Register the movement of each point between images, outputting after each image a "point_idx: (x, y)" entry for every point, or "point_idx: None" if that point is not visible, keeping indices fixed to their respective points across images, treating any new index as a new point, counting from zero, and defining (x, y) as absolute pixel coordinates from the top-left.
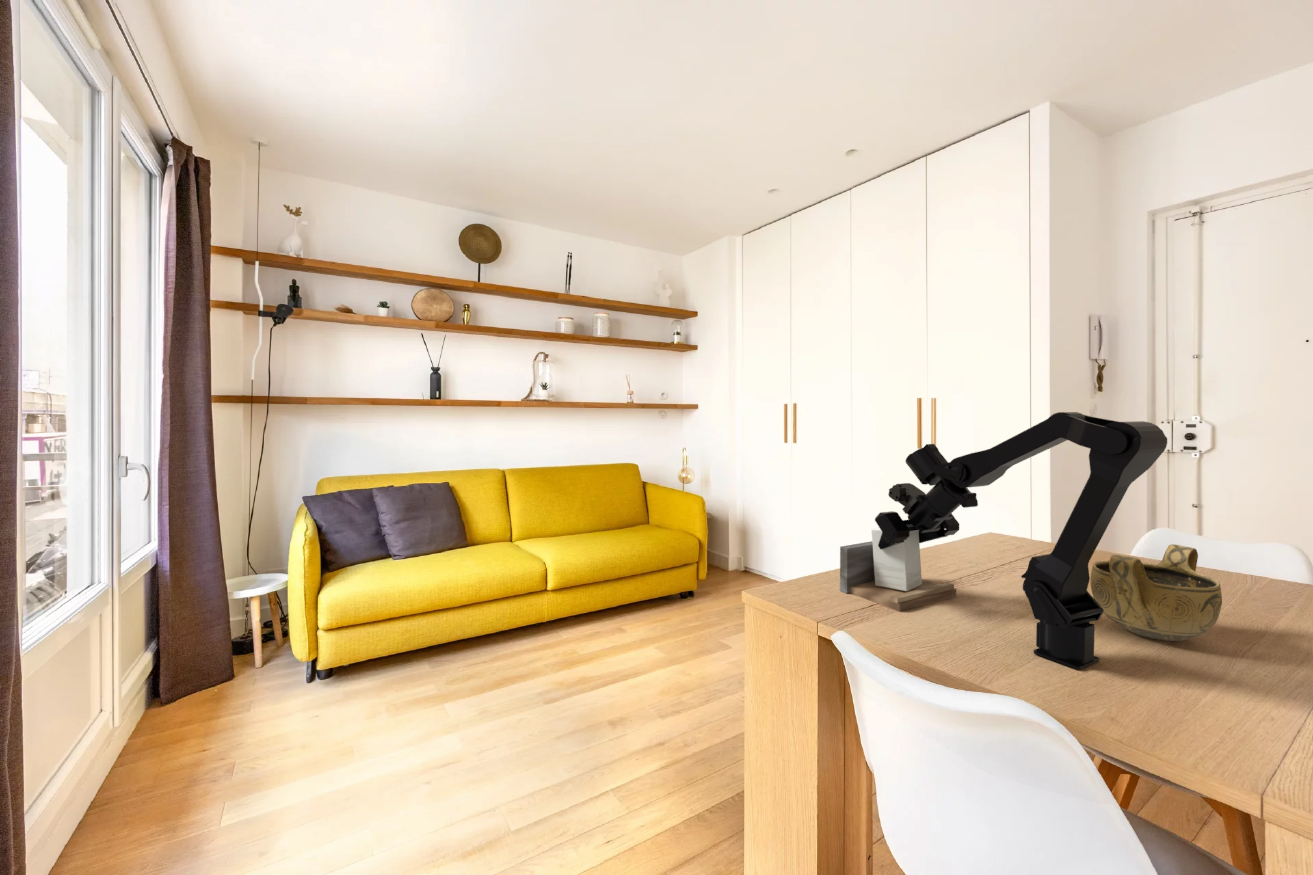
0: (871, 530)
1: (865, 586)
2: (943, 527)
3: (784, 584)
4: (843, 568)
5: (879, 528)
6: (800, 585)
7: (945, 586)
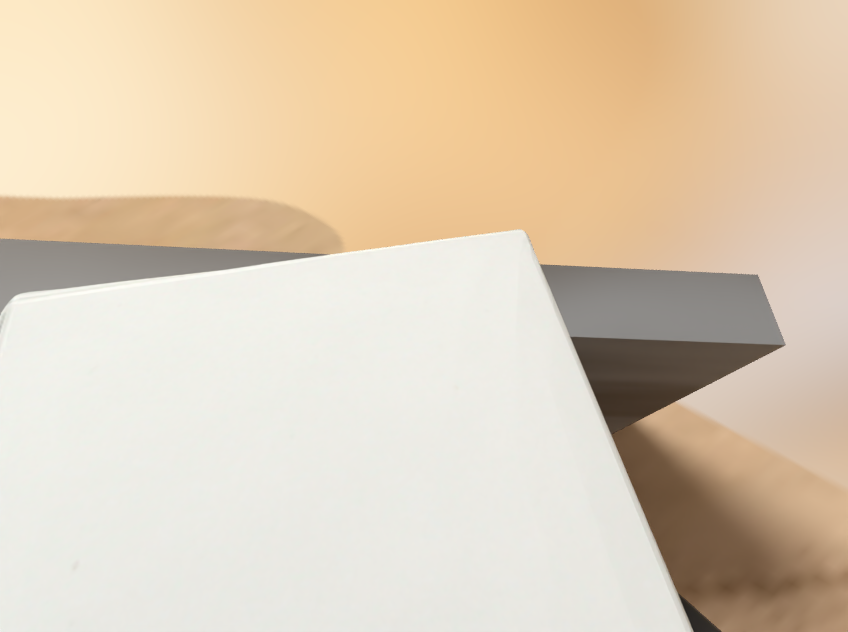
0: (23, 302)
1: None
2: None
3: (54, 202)
4: None
5: (118, 345)
6: (93, 240)
7: None
